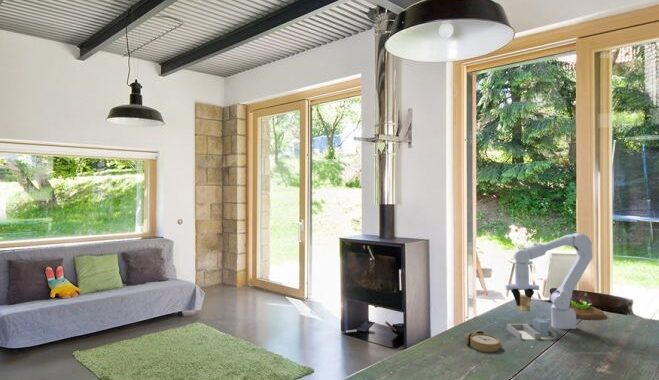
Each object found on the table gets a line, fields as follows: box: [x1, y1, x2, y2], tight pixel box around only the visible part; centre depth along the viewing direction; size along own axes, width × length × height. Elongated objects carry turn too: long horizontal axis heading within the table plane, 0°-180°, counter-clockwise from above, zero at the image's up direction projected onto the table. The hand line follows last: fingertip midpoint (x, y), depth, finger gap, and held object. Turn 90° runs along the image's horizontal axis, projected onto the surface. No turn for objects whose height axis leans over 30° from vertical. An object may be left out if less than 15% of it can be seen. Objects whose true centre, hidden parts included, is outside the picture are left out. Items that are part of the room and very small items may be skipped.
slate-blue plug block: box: [531, 317, 550, 337], centre depth 183 cm, size 4×7×6 cm, turn 178°
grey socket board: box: [506, 323, 558, 340], centre depth 184 cm, size 15×14×3 cm
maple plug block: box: [515, 293, 531, 312], centre depth 198 cm, size 4×7×6 cm, turn 178°
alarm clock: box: [463, 330, 504, 353], centre depth 173 cm, size 11×5×15 cm
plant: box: [569, 291, 605, 320], centre depth 216 cm, size 20×20×11 cm
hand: (522, 305), depth 198 cm, fingers closed on maple plug block, 4 cm apart
